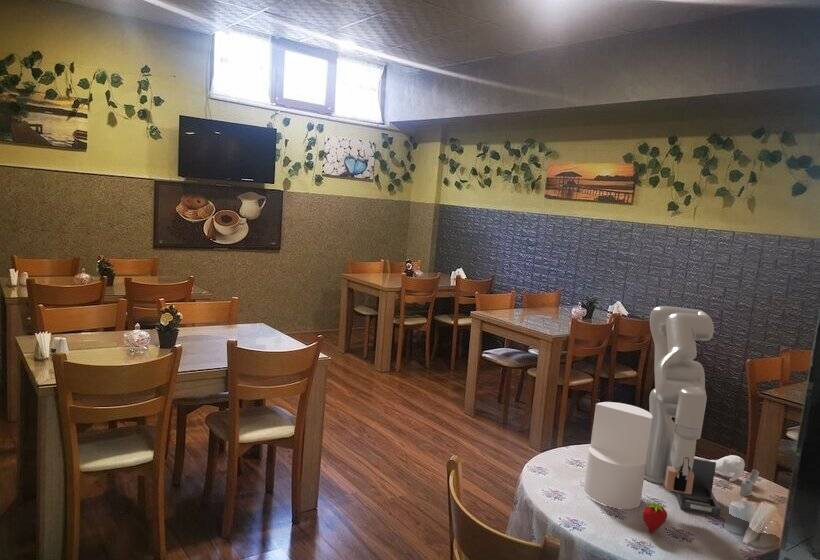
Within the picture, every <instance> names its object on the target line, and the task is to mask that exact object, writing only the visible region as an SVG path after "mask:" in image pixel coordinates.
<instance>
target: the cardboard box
mask: <svg viewBox="0 0 820 560" xmlns="http://www.w3.org/2000/svg"><path fill="white" fill-rule="evenodd" d="M680 472H682V471H680ZM675 477H677V469H675V468H674V467H670V466H667V472H666V478H665V484H664V487H665V491H671V492H674V491H676V490H674V482H675ZM693 481H694V474H693V471H692V470H691V471H689V470H688V476H687V484H686V490H685V492H681V491H676V492H681V493H686V494H691V493H692V487H693Z"/></svg>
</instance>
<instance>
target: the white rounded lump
mask: <svg viewBox="0 0 820 560" xmlns="http://www.w3.org/2000/svg"><path fill="white" fill-rule="evenodd" d="M708 461H712V462H716V467H715V472H716V471H718V472H720V473H721V474H723V475H725V476H726V477H728V478H729V479H728V481H729V482H735V481H737V480H738V479H739V477H741V476H742V475H743V474H744V469H745V466H746V465H745V460H744V458H742V457H740V456H738V455H734V454H733V455H732V454H730V455H727V456H724V457H721V458H719V459H710V460H708ZM731 473H732V474H733V475H732V476H731Z"/></svg>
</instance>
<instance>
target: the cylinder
mask: <svg viewBox="0 0 820 560" xmlns="http://www.w3.org/2000/svg"><path fill="white" fill-rule="evenodd" d="M652 418H653V416H652V414H650V413H649V411H648V410H646V409H645V408H641V407H639V406H636V405H632V404H627V403H622V402H612V401H603V402H598V403H595V407H594V416H593V424H592V431H591V437H590V439H591V440H590V445H589V448H588V452H587V461H586V468H585V475H584V484H583V491H584V490H585V492H586V493H587V494H588V495H589V496H590V497H591V498H593V499H595V500H596V501H598V502H600V503H603V504H605V505H607V506H611V507H615V508H621V509H620V510H624V509H627V510H633V508H634V509H636V508H638V507H639V505H641V502H642V501H641V500H642V494H643V489H644V488H643V487H644V481H645V479H644V474H645V467H646V460H647V453H648V446H649V439H650V432H651V425H652ZM615 508H614V509H615Z"/></svg>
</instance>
